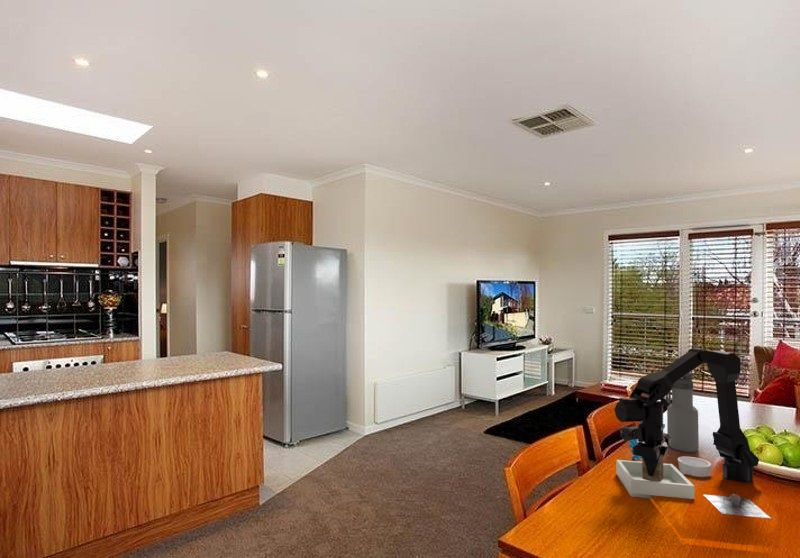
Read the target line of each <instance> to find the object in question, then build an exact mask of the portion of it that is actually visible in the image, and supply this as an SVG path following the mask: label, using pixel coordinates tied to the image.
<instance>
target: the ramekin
mask: <svg viewBox="0 0 800 558" xmlns="http://www.w3.org/2000/svg"><path fill="white" fill-rule="evenodd" d="M677 463H678V470H679V471H680V472H681V473H682V474H683V475H689V476H693V477H699V478H706V477H710V473H711V467H712V464H711V462H710V461H708V460H705V459H703V458H699V457H695V456H694V457H693V456H688V455H687V456H679V457H678V458H677Z"/></svg>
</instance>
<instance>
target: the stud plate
mask: <svg viewBox="0 0 800 558" xmlns="http://www.w3.org/2000/svg"><path fill="white" fill-rule="evenodd" d="M703 496H704V497H705V499H707V501H709V503H711V504H712V505H713V506H714V507H715V508H716V509H717V510H718V511H719V512H720V513H721V515H732V516H741V517H751V518H761V519H763V518H764V519H771V516H769V515H768V514H767V513H766V512H764V510H762V508H760V507H759V506H758V505H756V504H755V503H754V502H753V501H751V499H749V498H745V497H741V496H739V494H736V493H731V494H730V495H729V496H724V495H723V496H722V495H713V494H712V495H711V494H703Z"/></svg>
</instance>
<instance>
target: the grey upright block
mask: <svg viewBox="0 0 800 558" xmlns="http://www.w3.org/2000/svg"><path fill="white" fill-rule="evenodd" d="M659 455H661V458H660V460H659V463H658V465H657V468H656V470H655V472H654V475H653V476H649V475H648V472H647V469H646V466H645V462H644V460H643V458H641V459H642V461H641V462H642V476H643V479H645V480H649V481H658V482H661V481H662V480H663V463H664V458H663V455H662V454H659Z"/></svg>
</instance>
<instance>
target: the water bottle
mask: <svg viewBox="0 0 800 558" xmlns="http://www.w3.org/2000/svg"><path fill="white" fill-rule="evenodd" d="M693 376H694V373H693V372H692V371H691V372H689V373H688V374H687V375H685V376H684V377H682V378H681V379H680V380H678V381H677V382H675V383H674V384H673V386H672V389H671V391H670V392H669V393H668V394H667V395H666V396H665V400H666V401H667V402H668V403H670V406H666V407H667V408H666V409H667V410H666V412H667V413H666V414H667V415H666V419H667V420H666V421H667V422H666V423H667V425H666V426H667V430H666V432H667V433H666V434H668V435H669V436H670V437H671V444H670V445H667V447H668V448H670V449H673V450H675V451H679V452H684V453H695V452H698V451H699V449H700V448H699V446H700V445H699V444H700V441H699V437H700V436H699V410H698V409H697V407H696V406H694V405H693V402H694V400H693V399H694V397H693V395H694V394H693V393H694V392H693V391H694V381H693Z"/></svg>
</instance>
